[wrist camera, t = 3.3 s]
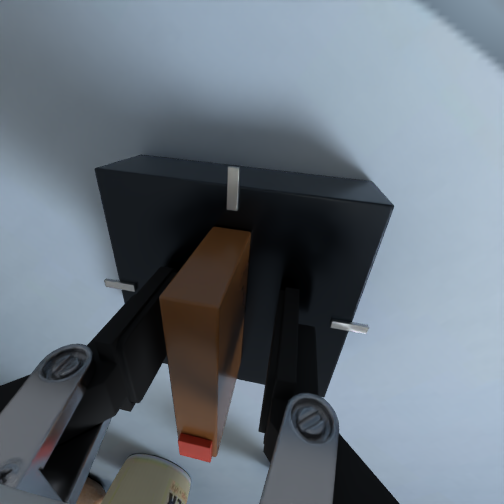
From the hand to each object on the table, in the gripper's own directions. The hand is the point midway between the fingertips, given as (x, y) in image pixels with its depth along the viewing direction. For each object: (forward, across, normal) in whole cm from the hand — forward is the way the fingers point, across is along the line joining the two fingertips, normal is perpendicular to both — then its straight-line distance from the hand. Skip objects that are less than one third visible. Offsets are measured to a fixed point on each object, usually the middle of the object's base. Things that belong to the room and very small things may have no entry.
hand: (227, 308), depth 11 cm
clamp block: (+3, 0, 0) cm, 3 cm away
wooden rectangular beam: (0, 0, 0) cm, 0 cm away
